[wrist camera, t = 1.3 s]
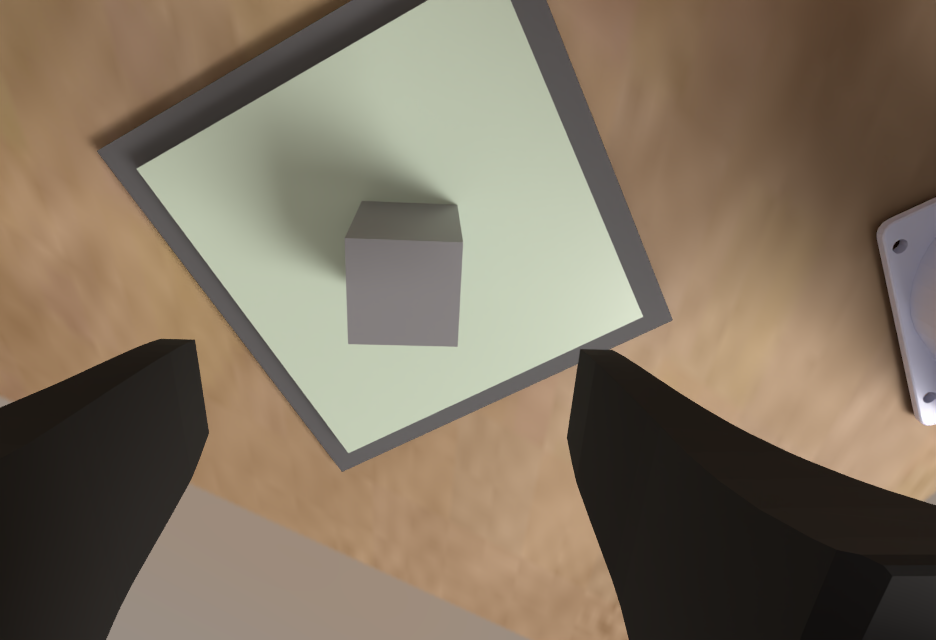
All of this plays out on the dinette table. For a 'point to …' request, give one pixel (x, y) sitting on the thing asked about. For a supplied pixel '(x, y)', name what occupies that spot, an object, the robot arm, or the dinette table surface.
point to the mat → (322, 39)
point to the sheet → (396, 148)
